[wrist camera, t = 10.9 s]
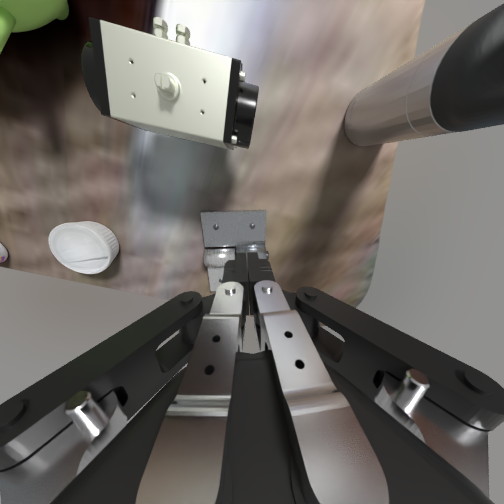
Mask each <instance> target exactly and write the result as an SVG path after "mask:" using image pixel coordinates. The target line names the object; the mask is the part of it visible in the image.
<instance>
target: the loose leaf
mask: <svg viewBox="0 0 504 504" xmlns="http://www.w3.org/2000/svg"><path fill="white" fill-rule="evenodd" d="M228 260H236V259H235V248H224V249H205V250H204V265H205V266H207V267H208V275H209V282H210V290H211V291H217V288H218V287H219V286H220V285H221V284H222V278H223V273H224V266H225V263H226V262H227V261H228Z"/></svg>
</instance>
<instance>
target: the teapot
mask: <svg viewBox="0 0 504 504" xmlns="http://www.w3.org/2000/svg"><path fill="white" fill-rule="evenodd" d="M68 14H69V6H68V3H67V0H0V53H1V51H2V49H3V48H4V46H5V44H6V42H7V40H8V38H9V36H10V34H11V32H24V31H30V30H34V29H38V28H40V27H42V26H44V25H46V24H48V23H50V22H51V21H53V20H54V19H56V18H57V19H59V20H64V19H66V18H67V16H68Z"/></svg>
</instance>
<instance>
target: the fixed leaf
mask: <svg viewBox="0 0 504 504" xmlns="http://www.w3.org/2000/svg"><path fill="white" fill-rule="evenodd" d="M200 214H201V222H202V229H203V237H204V244H205V247H224V246H236V253H246V256H247V252H258V257H259V259H266V260H268V258H269V255H268V251H266V248H265V232H266V210H238V211H201V212H200Z"/></svg>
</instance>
